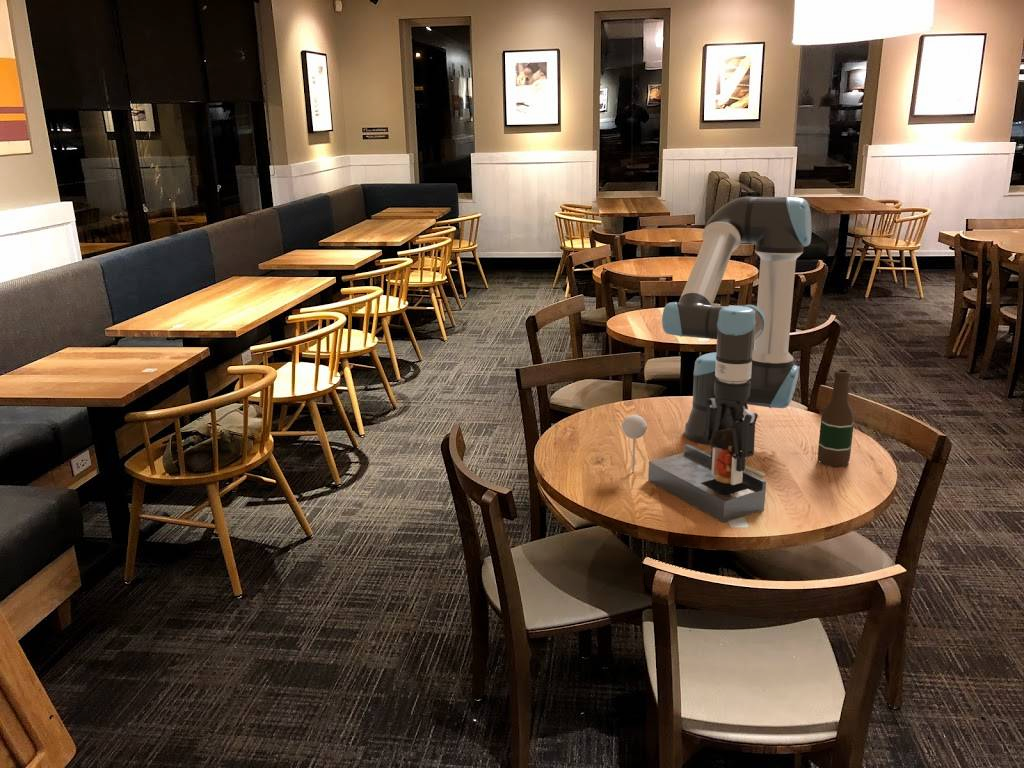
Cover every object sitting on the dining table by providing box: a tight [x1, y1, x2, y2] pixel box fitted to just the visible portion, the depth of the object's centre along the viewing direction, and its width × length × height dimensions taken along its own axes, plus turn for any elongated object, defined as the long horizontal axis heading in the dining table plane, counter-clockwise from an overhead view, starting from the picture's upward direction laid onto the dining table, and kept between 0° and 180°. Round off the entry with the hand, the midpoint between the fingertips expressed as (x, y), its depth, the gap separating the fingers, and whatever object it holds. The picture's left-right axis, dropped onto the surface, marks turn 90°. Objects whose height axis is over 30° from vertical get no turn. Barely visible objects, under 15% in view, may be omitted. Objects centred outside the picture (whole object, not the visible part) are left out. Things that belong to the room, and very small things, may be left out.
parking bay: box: [745, 464, 766, 478], centre depth 201 cm, size 12×12×1 cm
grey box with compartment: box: [647, 443, 767, 523], centre depth 188 cm, size 26×12×7 cm, turn 29°
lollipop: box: [621, 414, 648, 473], centre depth 201 cm, size 6×6×15 cm
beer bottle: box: [817, 369, 855, 468], centre depth 203 cm, size 8×8×24 cm
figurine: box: [712, 427, 735, 483], centre depth 180 cm, size 6×6×12 cm
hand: (726, 478), depth 182 cm, fingers closed on figurine, 5 cm apart
